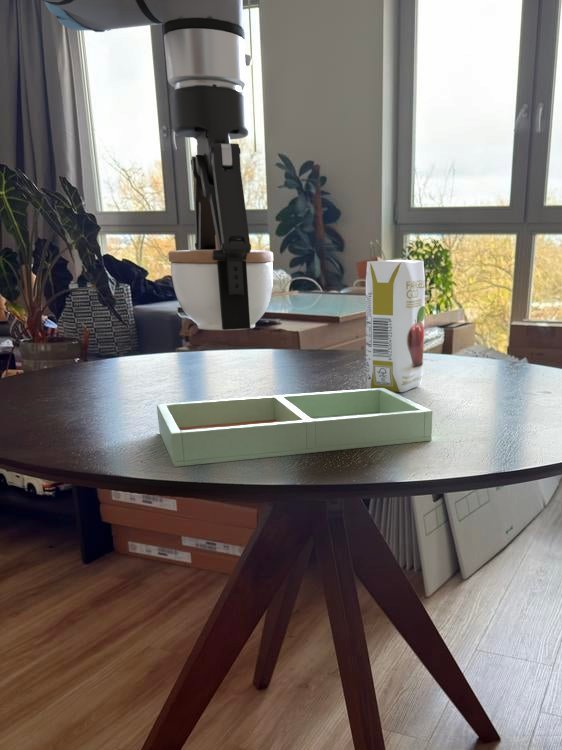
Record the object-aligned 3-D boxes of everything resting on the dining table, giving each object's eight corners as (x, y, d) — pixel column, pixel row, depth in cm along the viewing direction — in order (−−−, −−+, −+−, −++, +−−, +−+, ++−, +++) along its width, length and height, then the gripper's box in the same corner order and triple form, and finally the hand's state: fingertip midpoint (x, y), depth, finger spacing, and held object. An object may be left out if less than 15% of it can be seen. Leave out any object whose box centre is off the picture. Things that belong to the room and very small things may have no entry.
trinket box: (293, 324, 81) (289, 235, 78) (245, 335, 72) (238, 234, 68) (211, 320, 85) (204, 235, 81) (154, 330, 75) (144, 234, 72)
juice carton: (360, 390, 112) (359, 260, 105) (385, 381, 119) (385, 259, 113) (404, 394, 109) (406, 261, 102) (427, 385, 116) (430, 260, 109)
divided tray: (174, 467, 74) (171, 433, 72) (159, 432, 87) (156, 404, 85) (431, 440, 84) (432, 411, 82) (383, 413, 97) (383, 387, 96)
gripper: (275, 69, 62) (287, 333, 69) (225, 111, 82) (239, 312, 89) (185, 61, 59) (208, 337, 67) (157, 107, 79) (177, 314, 87)
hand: (225, 323), depth 78 cm, fingers closed on trinket box, 11 cm apart
